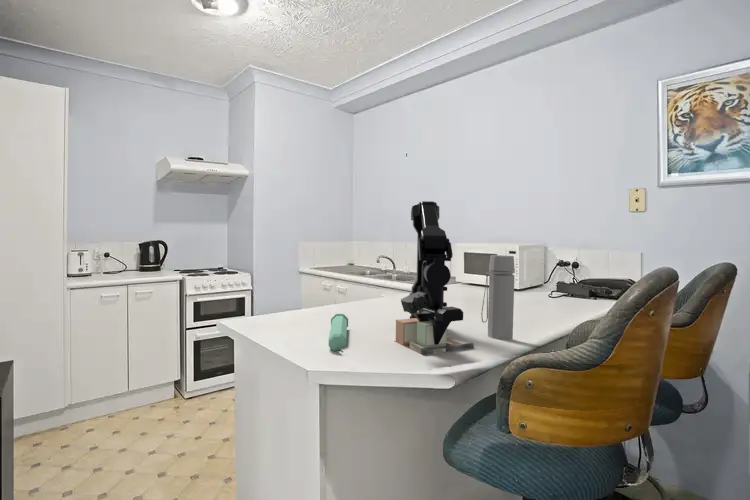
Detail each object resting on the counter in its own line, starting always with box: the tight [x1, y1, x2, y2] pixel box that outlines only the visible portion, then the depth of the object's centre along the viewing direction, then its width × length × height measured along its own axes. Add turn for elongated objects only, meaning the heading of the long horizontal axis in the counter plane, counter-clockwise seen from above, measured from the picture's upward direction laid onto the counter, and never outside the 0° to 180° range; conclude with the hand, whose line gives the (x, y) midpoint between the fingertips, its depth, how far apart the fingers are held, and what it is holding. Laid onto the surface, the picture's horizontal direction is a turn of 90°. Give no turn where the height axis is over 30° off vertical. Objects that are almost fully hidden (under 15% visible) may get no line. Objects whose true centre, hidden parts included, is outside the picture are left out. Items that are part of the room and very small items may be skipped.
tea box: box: [417, 321, 448, 349], centre depth 109 cm, size 4×6×6 cm, turn 117°
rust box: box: [395, 318, 419, 346], centre depth 116 cm, size 4×6×6 cm, turn 117°
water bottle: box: [480, 254, 516, 341], centre depth 124 cm, size 9×8×25 cm
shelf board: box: [393, 337, 475, 356], centre depth 114 cm, size 16×15×3 cm
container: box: [328, 313, 349, 352], centre depth 122 cm, size 6×6×25 cm
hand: (431, 342), depth 109 cm, fingers closed on tea box, 4 cm apart
